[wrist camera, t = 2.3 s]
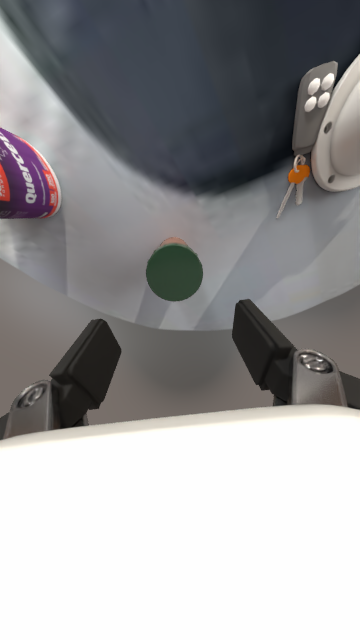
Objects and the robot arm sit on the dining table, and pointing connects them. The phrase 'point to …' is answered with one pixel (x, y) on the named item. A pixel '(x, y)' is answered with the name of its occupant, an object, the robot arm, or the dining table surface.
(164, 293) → the lid
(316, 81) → the key chain
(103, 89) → the dining table surface
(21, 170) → the pill bottle
